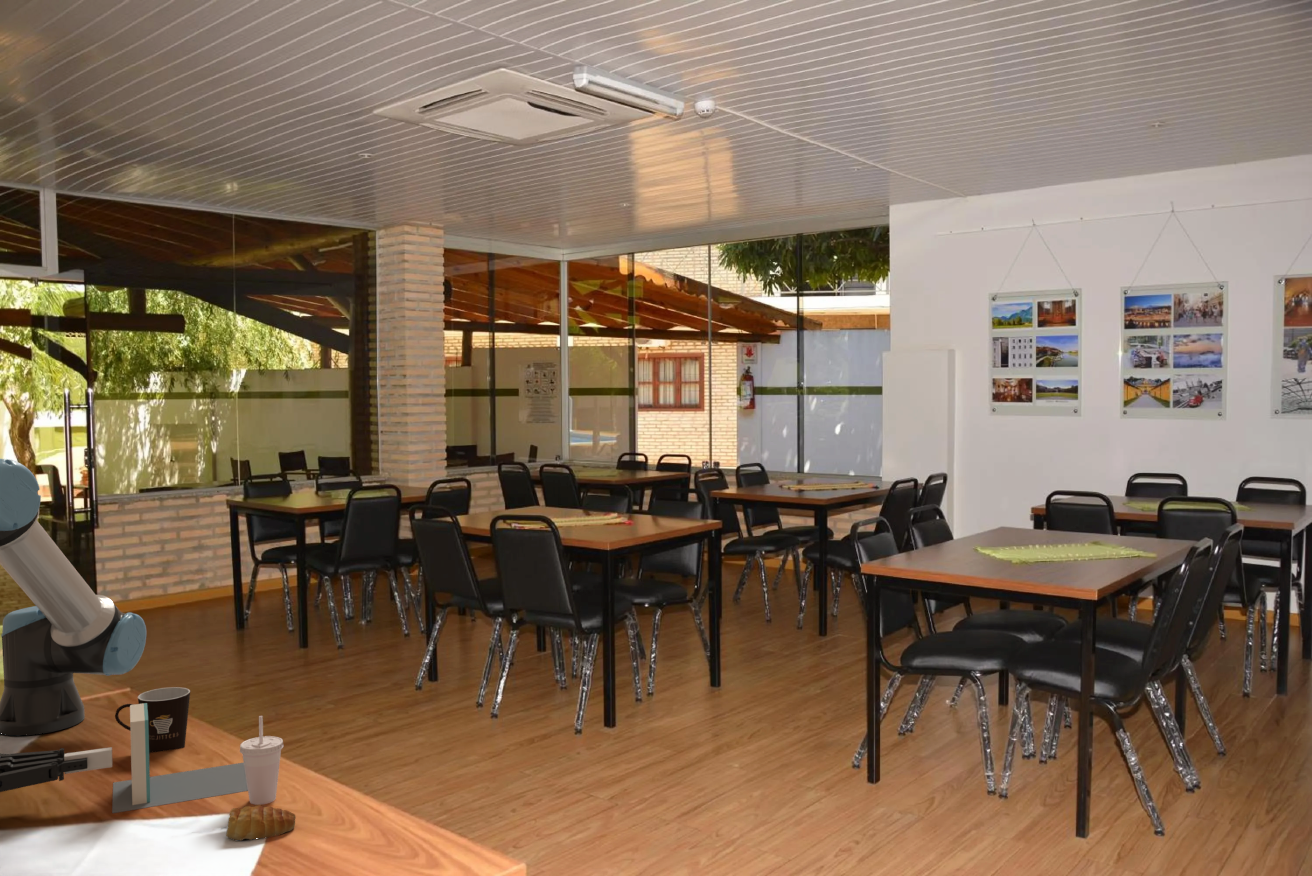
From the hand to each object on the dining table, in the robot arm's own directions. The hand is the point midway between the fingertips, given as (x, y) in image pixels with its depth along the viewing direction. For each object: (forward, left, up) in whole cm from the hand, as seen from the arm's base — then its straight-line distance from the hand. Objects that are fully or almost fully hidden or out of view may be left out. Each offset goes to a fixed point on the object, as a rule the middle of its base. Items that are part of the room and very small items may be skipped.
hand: (111, 757), depth 163 cm
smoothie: (+12, +21, -7) cm, 25 cm away
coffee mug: (-24, +7, -7) cm, 26 cm away
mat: (0, +10, -7) cm, 12 cm away
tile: (0, +4, -7) cm, 8 cm away
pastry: (+22, +19, -8) cm, 30 cm away
